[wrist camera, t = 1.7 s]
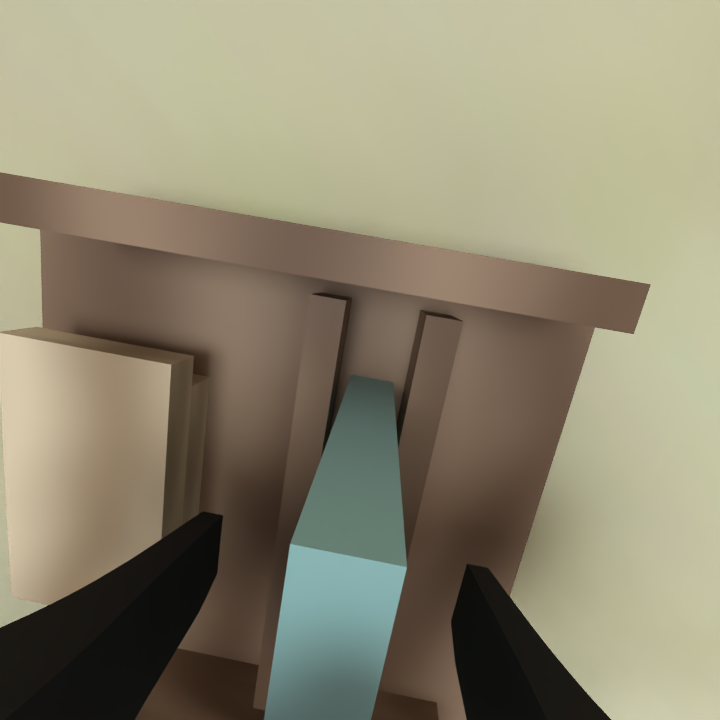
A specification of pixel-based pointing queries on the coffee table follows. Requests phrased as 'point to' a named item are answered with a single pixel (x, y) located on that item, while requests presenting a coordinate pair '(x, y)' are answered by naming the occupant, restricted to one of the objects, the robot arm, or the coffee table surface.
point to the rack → (330, 404)
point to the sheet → (343, 568)
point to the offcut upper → (88, 455)
